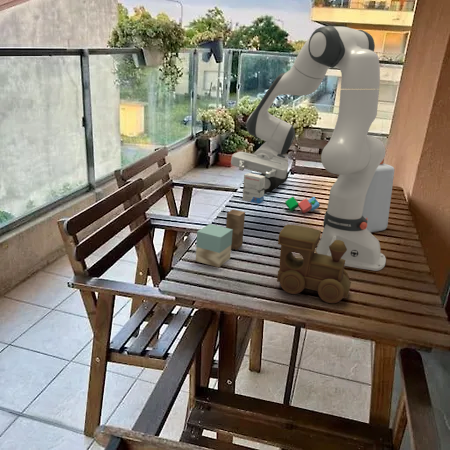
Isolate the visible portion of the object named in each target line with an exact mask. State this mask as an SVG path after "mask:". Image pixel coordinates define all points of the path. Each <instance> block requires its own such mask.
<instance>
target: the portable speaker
mask: <svg viewBox="0 0 450 450" xmlns="http://www.w3.org/2000/svg"><path fill="white" fill-rule="evenodd" d="M259 175H261V176H265V175H266V174H262V173H259ZM288 179H289V171H288V170H287V174H286V178H285V179H280V178H277V177H270V178H267V177H265V188H264V194H270V193H272V192H273V191H275V190H276V189H277V188H279V187H281V186H282V185H283V184H285V183H286V182H287V180H288Z"/></svg>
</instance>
